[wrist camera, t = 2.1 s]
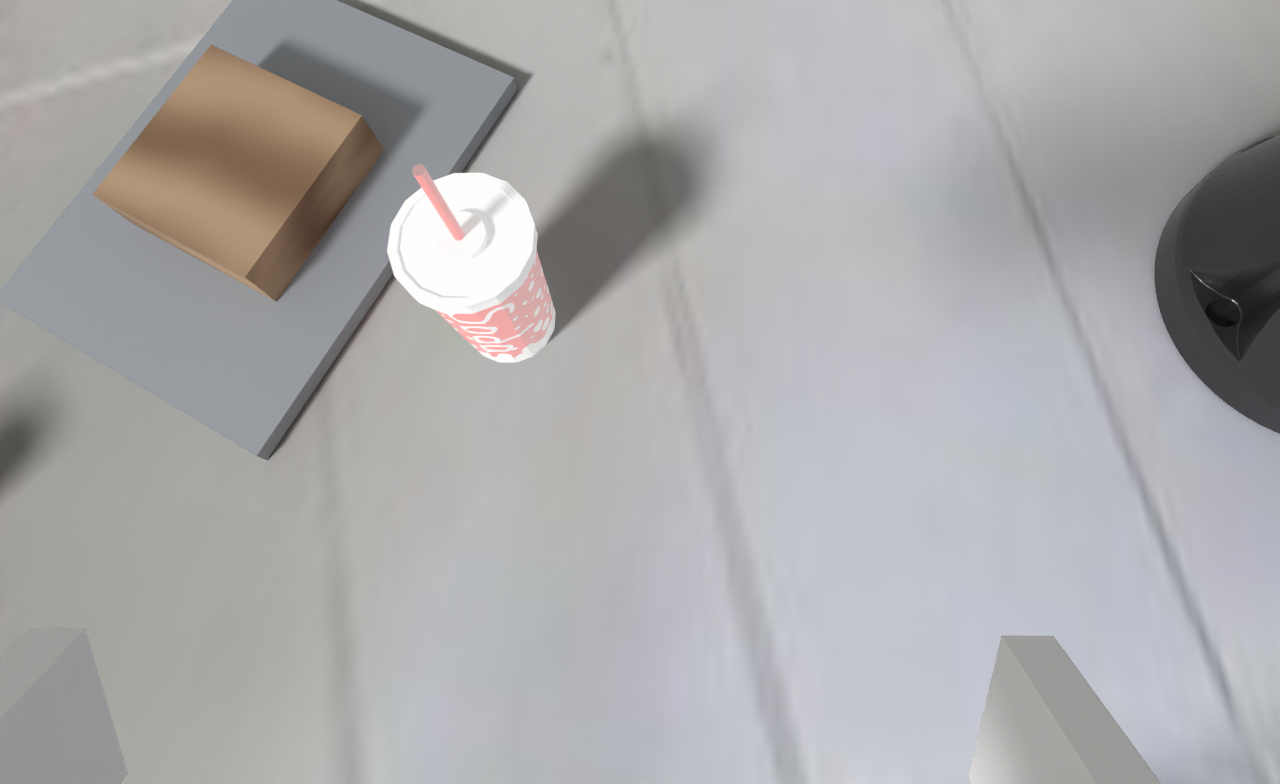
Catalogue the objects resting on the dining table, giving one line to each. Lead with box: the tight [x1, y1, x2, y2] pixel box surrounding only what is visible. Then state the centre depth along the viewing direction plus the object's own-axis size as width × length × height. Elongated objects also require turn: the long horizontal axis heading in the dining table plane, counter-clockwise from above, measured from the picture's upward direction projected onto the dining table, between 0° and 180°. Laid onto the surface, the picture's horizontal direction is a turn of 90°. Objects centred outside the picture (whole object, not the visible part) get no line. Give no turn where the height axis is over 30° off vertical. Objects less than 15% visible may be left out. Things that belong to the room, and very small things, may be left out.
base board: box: [0, 0, 518, 460], centre depth 45 cm, size 24×18×1 cm
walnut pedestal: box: [92, 45, 384, 302], centre depth 43 cm, size 10×10×4 cm
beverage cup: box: [387, 164, 556, 362], centre depth 35 cm, size 6×6×14 cm
